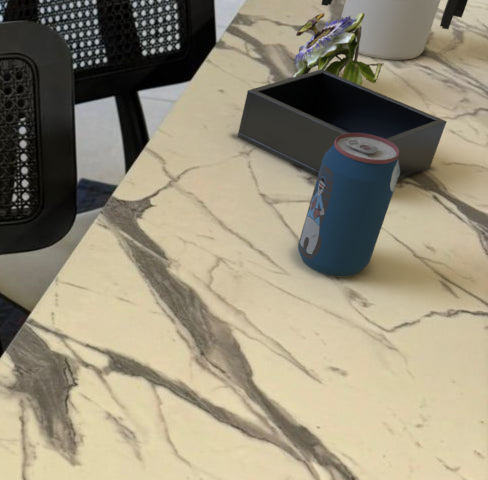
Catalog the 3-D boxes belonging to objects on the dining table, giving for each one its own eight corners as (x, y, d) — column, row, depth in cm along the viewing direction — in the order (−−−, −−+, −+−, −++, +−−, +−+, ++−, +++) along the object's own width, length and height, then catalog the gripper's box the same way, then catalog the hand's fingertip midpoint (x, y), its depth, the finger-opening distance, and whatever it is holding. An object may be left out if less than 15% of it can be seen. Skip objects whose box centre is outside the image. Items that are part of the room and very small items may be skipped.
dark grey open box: (429, 170, 118) (447, 121, 114) (357, 198, 111) (374, 147, 107) (308, 115, 128) (321, 68, 124) (236, 138, 121) (247, 90, 117)
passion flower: (288, 123, 139) (291, 31, 138) (372, 119, 137) (376, 26, 136) (293, 101, 128) (296, 1, 127) (384, 97, 126) (389, -5, 125)
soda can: (379, 265, 100) (420, 148, 92) (343, 290, 96) (383, 170, 88) (317, 238, 104) (352, 123, 96) (281, 261, 100) (314, 142, 92)
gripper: (587, -226, 74) (494, 20, 85) (347, -258, 78) (289, -19, 89) (591, -213, 69) (492, 47, 80) (334, -249, 73) (274, 4, 84)
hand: (385, 12), depth 85 cm, fingers open, 9 cm apart
